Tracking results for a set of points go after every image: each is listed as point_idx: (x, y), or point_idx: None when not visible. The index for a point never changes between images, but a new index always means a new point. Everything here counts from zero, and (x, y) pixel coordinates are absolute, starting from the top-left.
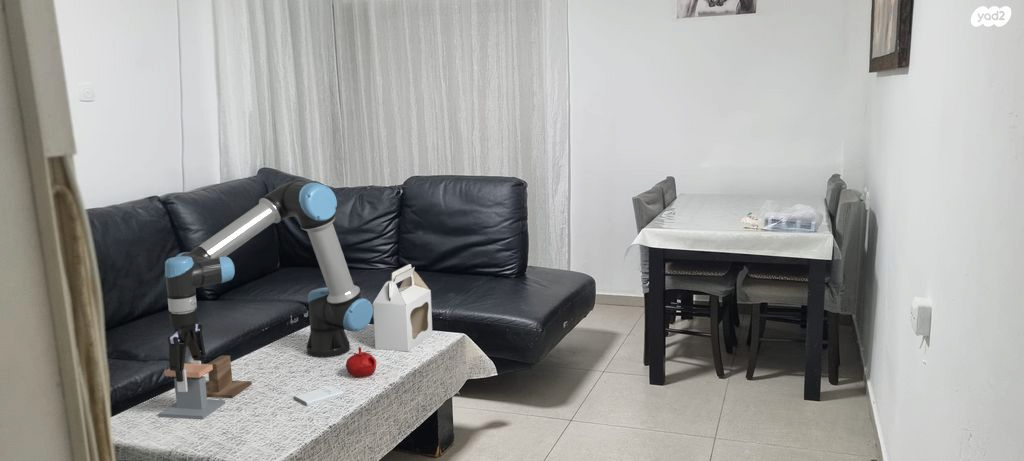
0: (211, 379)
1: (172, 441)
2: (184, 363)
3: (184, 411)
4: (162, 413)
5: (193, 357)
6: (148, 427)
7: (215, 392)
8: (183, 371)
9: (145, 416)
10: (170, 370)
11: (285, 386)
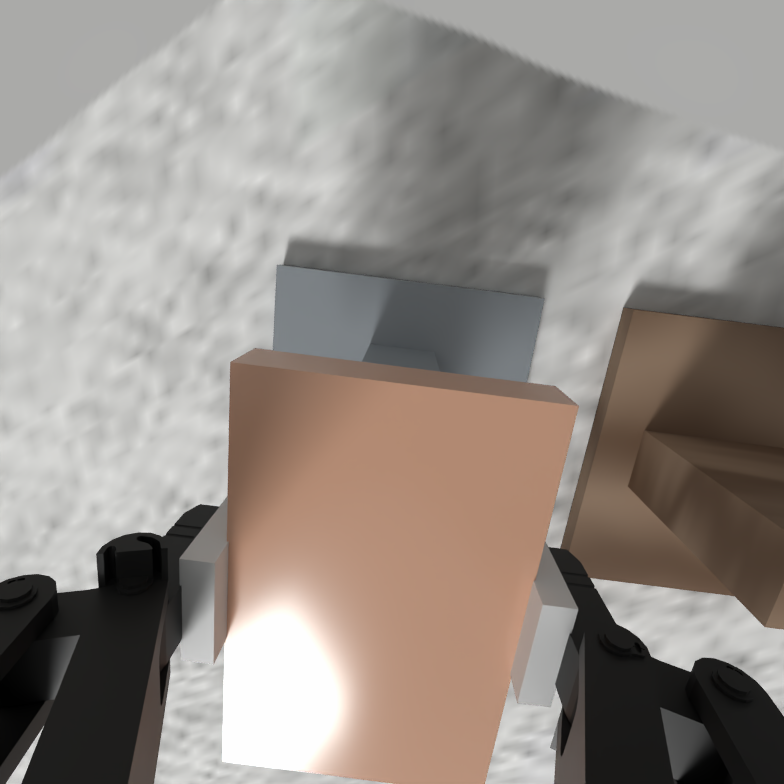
0: (688, 485)
1: (7, 493)
2: (549, 495)
3: None
4: (279, 293)
5: (578, 671)
6: (132, 283)
7: (621, 469)
8: (189, 637)
9: (284, 168)
10: (22, 576)
11: None
